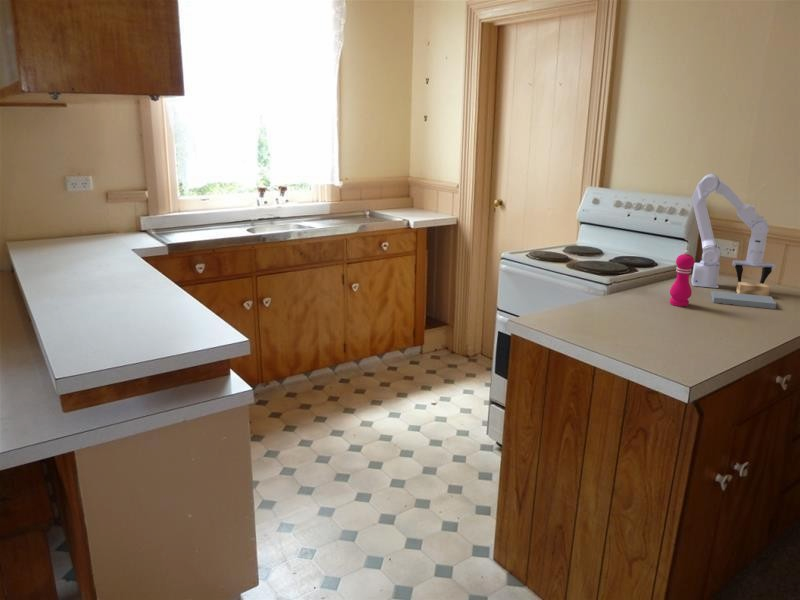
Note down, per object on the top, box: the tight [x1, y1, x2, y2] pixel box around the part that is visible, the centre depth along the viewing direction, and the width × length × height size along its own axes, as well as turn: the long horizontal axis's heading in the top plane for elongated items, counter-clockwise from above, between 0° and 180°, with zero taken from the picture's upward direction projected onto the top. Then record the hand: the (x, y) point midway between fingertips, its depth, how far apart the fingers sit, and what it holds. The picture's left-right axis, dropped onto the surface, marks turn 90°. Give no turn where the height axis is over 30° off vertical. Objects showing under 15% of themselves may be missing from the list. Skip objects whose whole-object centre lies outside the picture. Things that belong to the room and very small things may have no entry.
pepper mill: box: [669, 249, 695, 307], centre depth 225 cm, size 7×7×20 cm
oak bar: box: [735, 281, 771, 296], centre depth 240 cm, size 10×5×4 cm, turn 74°
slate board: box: [710, 290, 777, 310], centre depth 231 cm, size 20×10×2 cm, turn 70°
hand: (749, 284), depth 247 cm, fingers open, 7 cm apart
